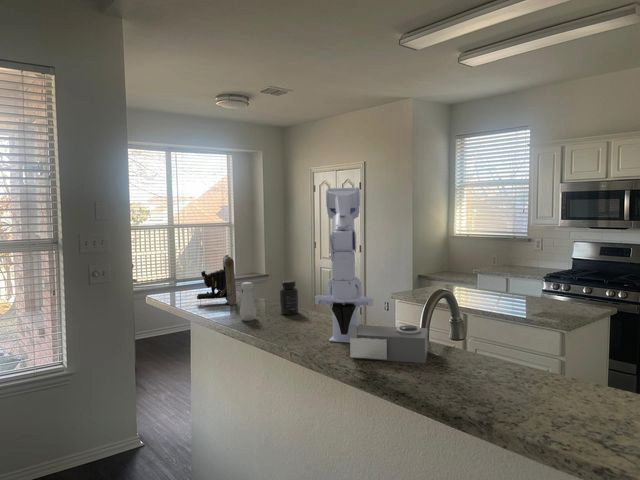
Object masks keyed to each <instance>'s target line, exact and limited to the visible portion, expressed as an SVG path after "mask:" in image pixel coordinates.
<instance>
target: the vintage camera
mask: <svg viewBox="0 0 640 480" xmlns="http://www.w3.org/2000/svg"><path fill="white" fill-rule="evenodd" d="M222 266H223V269H219V270H216V271H213V272H210V273H208V274H207V273H206V270H203V271H200V274H201V277H203V282H204V285H205V287H206V288H207V289H209V288H210V289H211V291H210V292H209V291H206V293H198V294H197V295H196V299H197V300H200V301H199V302H200V305H199V306H201V301H202V300H213V299H215V300H217V299H225V300H226V302H227V303H228V305H230V306H234V305H236V303H237V292H236V291H237V289H236V276H235V264H234V260H233V258H232V257H231V256H229V254H226V255H225V256H224V257H223V258H222ZM216 290H217V292H215V291H216Z"/></svg>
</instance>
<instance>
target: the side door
mask: <svg viewBox="0 0 640 480" xmlns="http://www.w3.org/2000/svg"><path fill="white" fill-rule="evenodd" d="M350 328H351V337H350V343H349V355H350V358H352V357H356V358H371V359H386V360H387V339H376V338H358V325H351V326H350ZM356 358H355V359H356ZM371 359H370V360H371ZM386 360H385V361H386Z"/></svg>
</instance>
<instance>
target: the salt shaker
mask: <svg viewBox="0 0 640 480" xmlns="http://www.w3.org/2000/svg"><path fill="white" fill-rule="evenodd" d="M254 287H255V286H254V283H253V282H251V281H246V282H242V283H241V285H240V289H241V290H242V295H241V300H240V301H241V303H240V307H239V308H240V309H239V316H240V317H241V319H242V321H247V322H248V321H250V322H251V321H254V320H255V318H256V316H257V307H256V302H255V297H254V294H253V289H254Z"/></svg>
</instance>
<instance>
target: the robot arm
mask: <svg viewBox="0 0 640 480" xmlns="http://www.w3.org/2000/svg"><path fill="white" fill-rule="evenodd" d="M360 190H361V189H360V188H359V187H358V186H356V187H328V188H326V190H325V201H326V210H327V212H326V213H327V215H328V218H329V219H331V232H330V233H329V236H328V238H329V242H328V243H329V253H330V261H331V278H329V280H328V282H327V293H326V294H327V295H316V296H314V305H327V306H328V307H329V308H331V310H332V336H331V337H330V338H329V340H328V342H331V343H333V342H334V343H349V344H350V337H351V328H350V326H351V325H358V326H359V325H360V313H359V310H358V309H359V308H361V307H362V306H368V307H373V306H374V305H375V304H374V302H375V301H374V298H375V297H374V296H363V292H362V291H363V290H362V281H361V279H360V278H359V277H357V276H356V257H355V254H356V253H357V232H356V230H355V221H354V220H355V219H357V218H359V214H360V207H361V191H360ZM353 251H354V252H353Z"/></svg>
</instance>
